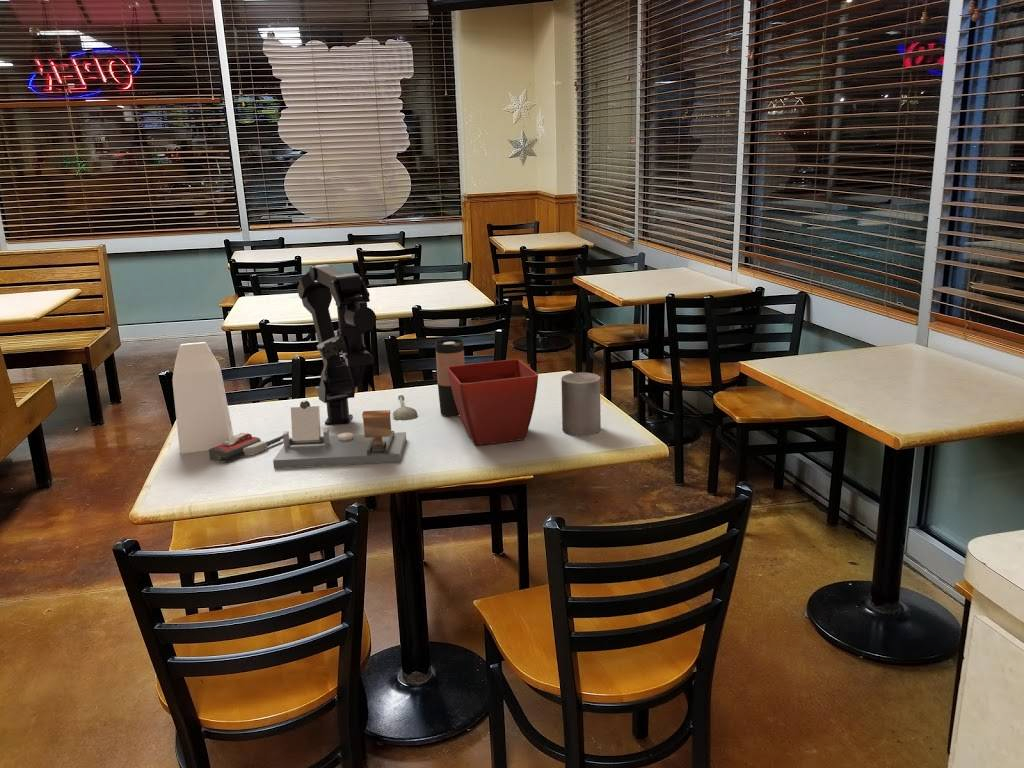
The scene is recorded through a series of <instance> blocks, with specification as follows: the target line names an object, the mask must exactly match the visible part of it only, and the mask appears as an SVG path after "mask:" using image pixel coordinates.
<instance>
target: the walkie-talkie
mask: <svg viewBox="0 0 1024 768" xmlns="http://www.w3.org/2000/svg"><path fill="white" fill-rule="evenodd" d="M281 440H283V434H282V435H280V436H278V437H275V438H272V439H271V440H267V441H263V440H261V438H260V437H257V436H252V434H250V433H248V432H240V433H239V434H236V435H233V437H231V439H230V440H229V441H228V442H227V441H223V442H222V444H221V445H219V446H216V447H214V448H211V449H209V450H208V452H209V459H210V460H211V461H217V462H222V463H230V462H233V461H235V460H237V459H239V458H242V457H248V456H254V455H257V454H260V453H262V452H264V450H265V451H267V450H268V447H270V446H271V445H273V444H276V443H278V442H279V443H280V442H281ZM261 451H262V452H261ZM259 452H260V453H259Z"/></svg>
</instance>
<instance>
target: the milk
mask: <svg viewBox="0 0 1024 768" xmlns="http://www.w3.org/2000/svg"><path fill="white" fill-rule="evenodd" d="M223 378H224V377H223V375H222V369H221V365H220V363H219V361H218V359H217V358H216V357H215V355H214V353H213V352H212V350H211V349H210V346H209V345H208V343H207V342H206V341H202V342H190V343H181V344H180V345H179V348H178V351H177V353H176V358H175V362H174V368H173V372H172V388H173V389H172V390H173V400H174V409H175V417H176V419H175V420H176V427H177V437H178V447H179V449H178V450H179V454H180V453H182V454H190V453H197V451H199V452H205V451H209V449H211V448H214V447H216V446H219V445H221V444H222V442H223V441H227V442H228V441H229V440H230V439H231V437H233V436H234V431H233V426H232V420H231V416H230V415H231V414H230V411H229V410H230V409H229V406H228V398H227V395H226V394H227V393H226V390H225V389H226V388H225V385H224V383H225V382H224V379H223Z"/></svg>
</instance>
